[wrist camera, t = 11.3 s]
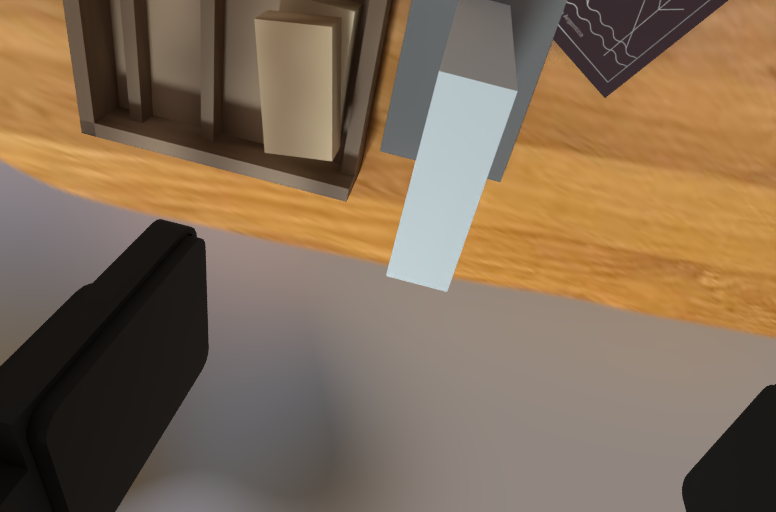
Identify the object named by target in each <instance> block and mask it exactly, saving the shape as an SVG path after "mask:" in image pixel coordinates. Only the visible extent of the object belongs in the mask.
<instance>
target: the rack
mask: <svg viewBox="0 0 776 512" xmlns="http://www.w3.org/2000/svg"><path fill="white" fill-rule="evenodd" d="M351 1H355V2H359V3H363V5H362V11H361V17H360V23H359V30H358V36H357V42H356V48H355V54H354V61H353V67H352V73H351V79H350V85H349V92H348V98H347V104H346V110H345V117H344V123H343V129H342V135H341V138H340V148H339V150H338V152H337V154H336V155H335V157H334V159H333V161H325V160H317V159H310V158H302V157H294V156H286V155H278V154H271V153H265V151H264V138H263V125H262V112H261V99H260V86H259V73H258V60H257V47H256V34H255V21H254V19H255V18H256V17H258V16H259V15H261V14H263V13H264V12H266V11H267V10H274V11H279V6H280V0H63V5H64V12H65V19H66V26H67V33H68V40H69V47H70V54H71V61H72V68H73V75H74V82H75V88H76V95H77V102H78V109H79V116H80V123H81V130H82V133H84V134H88V135H92V136H95V137H99V138H103V139H107V140H111V141H115V142H119V143H122V144H126V145H130V146H134V147H138V148H142V149H146V150H149V151H153V152H157V153H161V154H165V155H169V156H173V157H176V158H180V159H184V160H188V161H192V162H196V163H199V164H203V165H207V166H211V167H215V168H219V169H223V170H226V171H230V172H234V173H238V174H242V175H246V176H250V177H253V178H257V179H261V180H265V181H269V182H273V183H276V184H280V185H284V186H288V187H292V188H296V189H300V190H303V191H307V192H311V193H315V194H319V195H323V196H327V197H330V198H334V199H338V200H342V201H346V202H347V199H348V197H349V195H350V193H351V190H352V188H353V186H354V183H355V181H356V179H357V177H358V174H359V172H360V166H361V161H362V156H363V151H364V145H365V140H366V135H367V130H368V124H369V119H370V114H371V109H372V103H373V98H374V93H375V88H376V82H377V77H378V72H379V67H380V61H381V56H382V51H383V46H384V40H385V35H386V30H387V25H388V19H389V14H390V9H391V4H392V0H351Z"/></svg>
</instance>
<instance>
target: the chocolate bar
mask: <svg viewBox="0 0 776 512" xmlns="http://www.w3.org/2000/svg"><path fill="white" fill-rule="evenodd" d="M727 1H728V0H567V2H566V5H565V8H564V10H563V13H562V16H561V18H560V21H559V24H558V27H557V29H556V32H555V35H554V37H553V39H554V41H555V42H556V43H557V44H558V45H559V46H560V47H561V49H562V50H563V51H564V52H565V53H566V54H567V55H568V57H569V58H570V59H571V60H572V61H573V62H574V63H575V65H576V66H577V67H578V68H579V69H580V70H581V71H582V73H583V74H584V75H585V76H586V77H587V78H588V79H589V81H590V82H591V83H592V84H593V85H594V86H595V87H596V89H597V90H598V91H599V92H600V93H601V94H602V95H603V96H604V98H606V97H607V96H608V95H609V94H611V93H612V92H613V91H614V90H616V89H617V88H618V87H619V86H621V85H622V84H623V83H625V82H626V81H627V80H628V79H630V78H631V77H632V76H633V75H635V74H636V73H637V72H638V71H640V70H641V69H642V68H643V67H645V66H646V65H647V64H648V63H650V62H651V61H652V60H654V59H655V58H656V57H657V56H659V55H660V54H661V53H662V52H664V51H665V50H666V49H667V48H669V47H670V46H671V45H672V44H674V43H675V42H676V41H678V40H679V39H680V38H681V37H683V36H684V35H685V34H686V33H688V32H689V31H690V30H691V29H693V28H694V27H695V26H696V25H698V24H699V23H700V22H701V21H703V20H704V19H705V18H707V17H708V16H709V15H710V14H712V13H713V12H714V11H715V10H717V9H718V8H719V7H720V6H722V5H723V4H724V3H725V2H727Z"/></svg>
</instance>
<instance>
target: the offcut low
mask: <svg viewBox="0 0 776 512" xmlns="http://www.w3.org/2000/svg"><path fill="white" fill-rule="evenodd" d="M362 5H363V3H359V2H355V1H351V0H280V6H279V11H283V12H293V13H303V14H312V15H322V16H332V17H341V18H342V38H341V135H342V129H343V123H344V117H345V110H346V104H347V98H348V92H349V85H350V79H351V73H352V67H353V61H354V54H355V48H356V42H357V36H358V30H359V23H360V17H361V11H362Z"/></svg>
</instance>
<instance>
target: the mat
mask: <svg viewBox="0 0 776 512" xmlns="http://www.w3.org/2000/svg"><path fill="white" fill-rule="evenodd" d="M458 1H459V0H412V2H411V7H410V12H409V16H408V21H407V26H406V31H405V35H404V40H403V45H402V50H401V54H400V59H399V64H398V69H397V73H396V78H395V83H394V88H393V92H392V97H391V102H390V107H389V111H388V116H387V121H386V126H385V130H384V135H383V140H382V145H381V149H380V151H382V152H386V153H389V154H393V155H397V156H401V157H405V158H409V159H413V160H416V158H417V154H418V150H419V146H420V143H421V139H422V135H423V131H424V127H425V123H426V119H427V115H428V112H429V108H430V104H431V100H432V96H433V92H434V88H435V84H436V81H437V77H438V73H439V69H440V66H441V62H442V58H443V55H444V51H445V48H446V44H447V41H448V37H449V33H450V30H451V26H452V23H453V19H454V15H455V12H456V8H457V5H458ZM491 1H495V2H499V3H503V4H507V5H510V6H511V18H512V30H513V42H514V54H515V66H516V78H517V90H518V92H517V95H516V97H515V100H514V103H513V106H512V109H511V112H510V114H509V117H508V120H507V123H506V126H505V129H504V131H503V134H502V137H501V140H500V143H499V146H498V148H497V151H496V154H495V157H494V160H493V163H492V166H491V168H490V171H489V174H488V177H487V179H490V180H494V181H498V182H500V181H501V179H502V176H503V173H504V171H505V168H506V165H507V162H508V160H509V157H510V154H511V152H512V149H513V146H514V143H515V141H516V138H517V135H518V133H519V130H520V127H521V124H522V122H523V119H524V116H525V114H526V111H527V108H528V105H529V103H530V100H531V97H532V95H533V92H534V89H535V86H536V84H537V81H538V78H539V76H540V73H541V70H542V67H543V65H544V62H545V59H546V56H547V54H548V51H549V48H550V46H551V43H552V40H553V37H554V35H555V32H556V29H557V27H558V24H559V21H560V18H561V16H562V13H563V10H564V8H565V5H566V2H567V0H491Z"/></svg>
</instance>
